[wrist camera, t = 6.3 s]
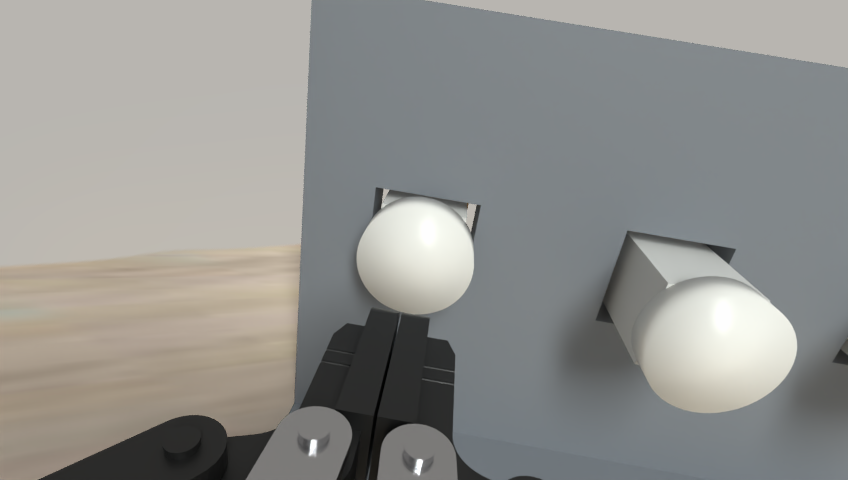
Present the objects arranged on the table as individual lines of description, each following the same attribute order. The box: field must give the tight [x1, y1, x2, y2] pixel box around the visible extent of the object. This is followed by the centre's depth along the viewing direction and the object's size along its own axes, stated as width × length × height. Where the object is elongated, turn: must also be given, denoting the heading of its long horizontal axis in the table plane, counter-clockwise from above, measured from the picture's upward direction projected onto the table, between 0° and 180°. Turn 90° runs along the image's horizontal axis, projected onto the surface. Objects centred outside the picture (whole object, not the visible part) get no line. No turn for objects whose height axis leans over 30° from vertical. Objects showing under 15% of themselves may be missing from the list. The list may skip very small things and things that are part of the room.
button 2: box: [357, 190, 474, 314], centre depth 20 cm, size 4×10×4 cm, turn 174°
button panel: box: [289, 0, 848, 480], centre depth 18 cm, size 27×10×18 cm, turn 84°
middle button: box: [603, 231, 797, 413], centre depth 18 cm, size 4×10×4 cm, turn 174°
